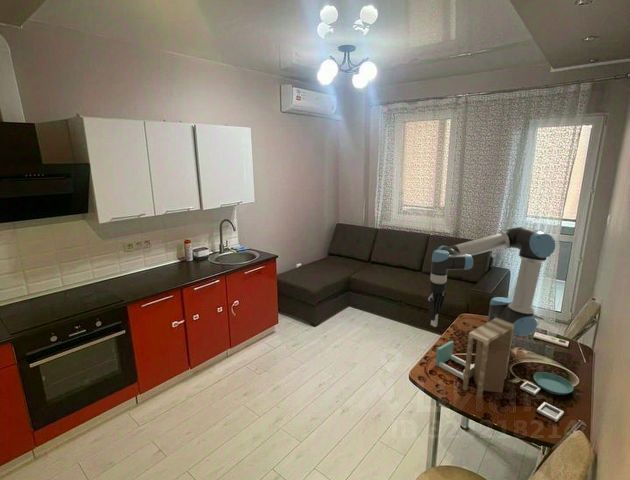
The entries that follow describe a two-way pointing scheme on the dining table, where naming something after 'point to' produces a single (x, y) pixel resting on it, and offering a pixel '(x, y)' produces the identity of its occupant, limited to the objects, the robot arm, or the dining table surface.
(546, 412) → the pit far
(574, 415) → the dining table surface
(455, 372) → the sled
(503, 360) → the wooden block
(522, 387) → the pit side
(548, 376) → the saucer
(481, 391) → the beige tall open frame
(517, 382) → the dining table surface
